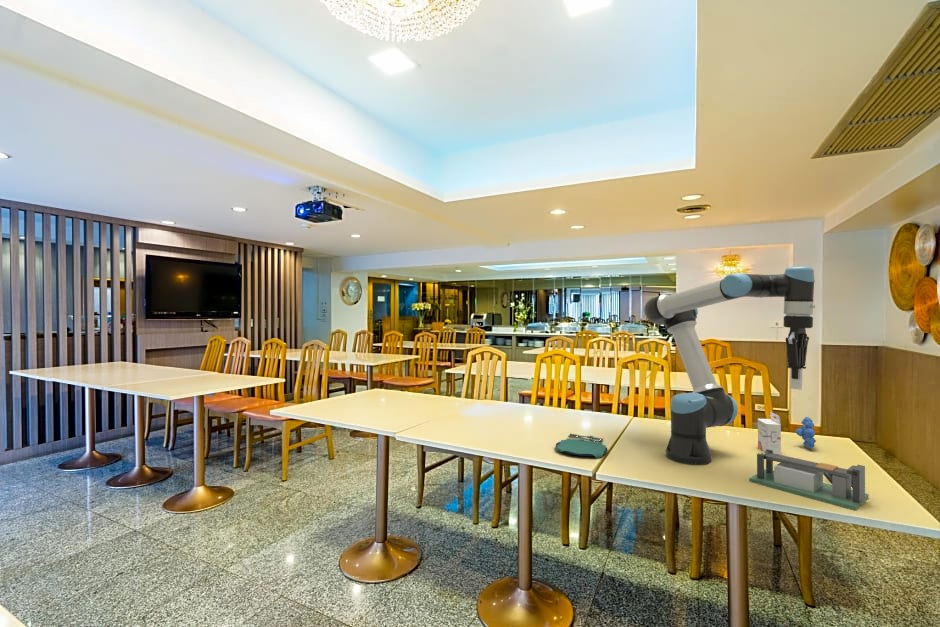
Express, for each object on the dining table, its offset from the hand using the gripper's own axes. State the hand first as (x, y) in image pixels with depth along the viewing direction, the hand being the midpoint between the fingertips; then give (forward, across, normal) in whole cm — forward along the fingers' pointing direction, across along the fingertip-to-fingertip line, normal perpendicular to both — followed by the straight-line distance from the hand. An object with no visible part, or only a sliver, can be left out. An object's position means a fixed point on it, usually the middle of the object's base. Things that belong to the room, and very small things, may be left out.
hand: (796, 388), depth 140 cm
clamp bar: (+23, -6, -4) cm, 24 cm away
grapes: (+30, +44, +10) cm, 54 cm away
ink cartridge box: (+30, +27, +16) cm, 44 cm away
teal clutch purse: (+32, -27, +63) cm, 75 cm away
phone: (+30, +13, -9) cm, 34 cm away
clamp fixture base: (+29, -6, -5) cm, 30 cm away
